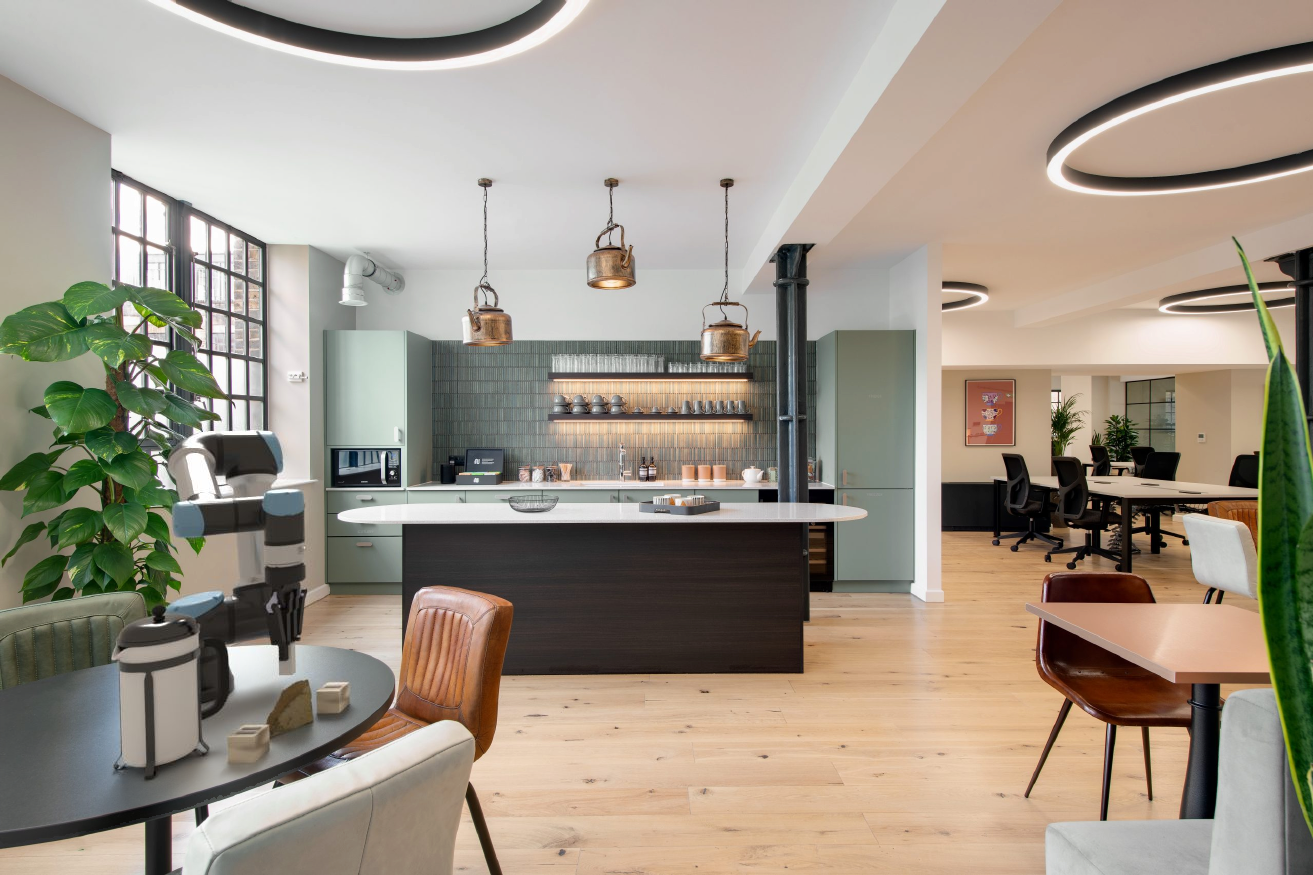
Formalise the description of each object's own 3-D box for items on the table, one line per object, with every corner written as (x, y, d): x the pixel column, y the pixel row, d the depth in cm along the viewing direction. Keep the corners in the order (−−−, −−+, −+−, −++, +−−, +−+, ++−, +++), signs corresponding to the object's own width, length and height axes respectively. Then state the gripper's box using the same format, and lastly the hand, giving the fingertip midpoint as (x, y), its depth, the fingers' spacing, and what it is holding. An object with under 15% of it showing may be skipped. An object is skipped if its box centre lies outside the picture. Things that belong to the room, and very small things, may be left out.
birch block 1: (244, 750, 129) (243, 724, 128) (269, 749, 129) (269, 724, 129) (227, 763, 124) (227, 736, 124) (254, 762, 124) (253, 736, 124)
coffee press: (199, 773, 120) (195, 611, 119) (94, 788, 115) (90, 619, 115) (231, 731, 136) (228, 588, 136) (141, 742, 132) (137, 595, 131)
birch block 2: (327, 704, 150) (327, 681, 150) (349, 703, 150) (349, 681, 150) (316, 713, 145) (316, 690, 145) (339, 713, 145) (338, 690, 145)
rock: (261, 735, 130) (316, 715, 135) (253, 693, 133) (308, 676, 139) (265, 748, 138) (317, 729, 143) (258, 709, 141) (310, 692, 147)
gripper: (285, 570, 131) (288, 686, 132) (318, 556, 144) (320, 662, 145) (248, 570, 131) (250, 686, 132) (284, 556, 144) (286, 662, 145)
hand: (287, 673), depth 138 cm, fingers closed
